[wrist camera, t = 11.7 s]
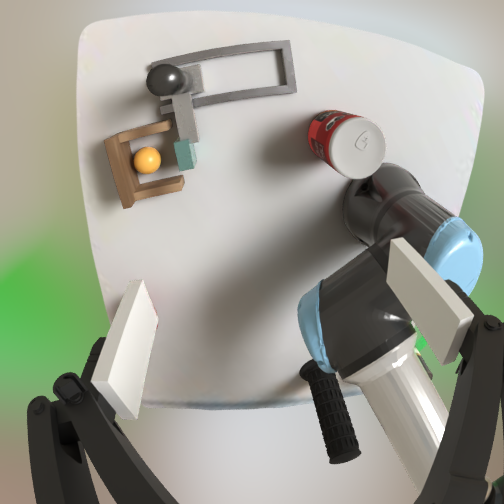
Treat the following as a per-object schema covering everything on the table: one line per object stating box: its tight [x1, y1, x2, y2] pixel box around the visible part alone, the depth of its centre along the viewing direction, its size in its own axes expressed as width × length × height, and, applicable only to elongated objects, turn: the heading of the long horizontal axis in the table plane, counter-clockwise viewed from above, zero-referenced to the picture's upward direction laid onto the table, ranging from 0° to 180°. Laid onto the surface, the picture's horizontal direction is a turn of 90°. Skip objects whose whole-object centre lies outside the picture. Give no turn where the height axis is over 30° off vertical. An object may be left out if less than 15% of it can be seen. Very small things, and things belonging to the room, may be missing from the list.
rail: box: [152, 40, 297, 115], centre depth 37 cm, size 19×8×1 cm, turn 98°
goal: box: [104, 119, 184, 209], centre depth 40 cm, size 8×10×6 cm
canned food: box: [308, 110, 386, 179], centre depth 38 cm, size 8×8×11 cm
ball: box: [134, 147, 161, 174], centre depth 41 cm, size 4×4×4 cm
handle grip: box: [300, 359, 361, 464], centre depth 60 cm, size 10×26×10 cm
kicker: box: [146, 64, 205, 171], centre depth 34 cm, size 6×14×14 cm, turn 8°
